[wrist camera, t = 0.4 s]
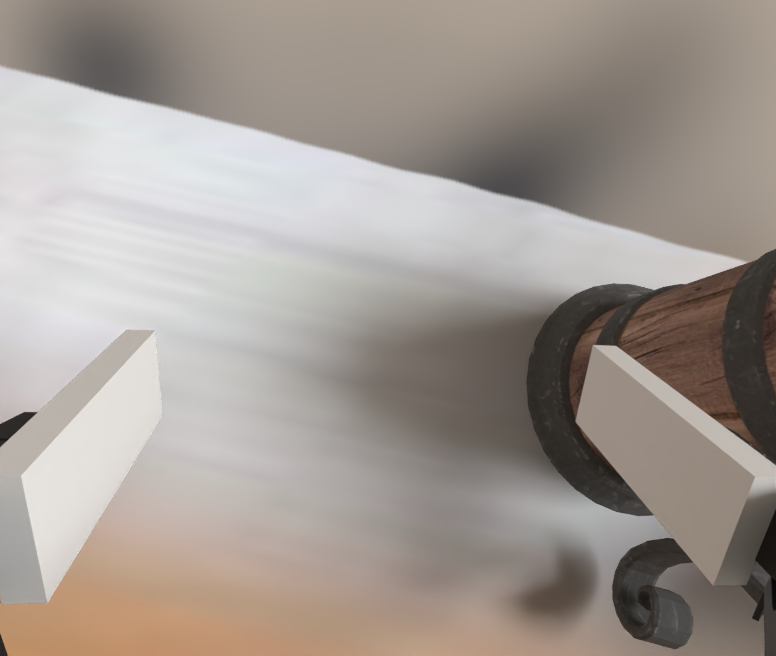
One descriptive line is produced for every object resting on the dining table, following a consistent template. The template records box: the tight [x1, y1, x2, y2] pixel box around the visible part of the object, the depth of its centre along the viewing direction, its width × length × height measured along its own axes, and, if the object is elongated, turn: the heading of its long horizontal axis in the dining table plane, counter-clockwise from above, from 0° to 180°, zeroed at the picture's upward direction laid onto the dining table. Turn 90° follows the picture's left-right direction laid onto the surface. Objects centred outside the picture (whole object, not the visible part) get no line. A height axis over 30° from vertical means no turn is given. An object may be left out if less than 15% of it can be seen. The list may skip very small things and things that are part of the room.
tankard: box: [527, 249, 776, 649], centre depth 27 cm, size 24×17×20 cm
